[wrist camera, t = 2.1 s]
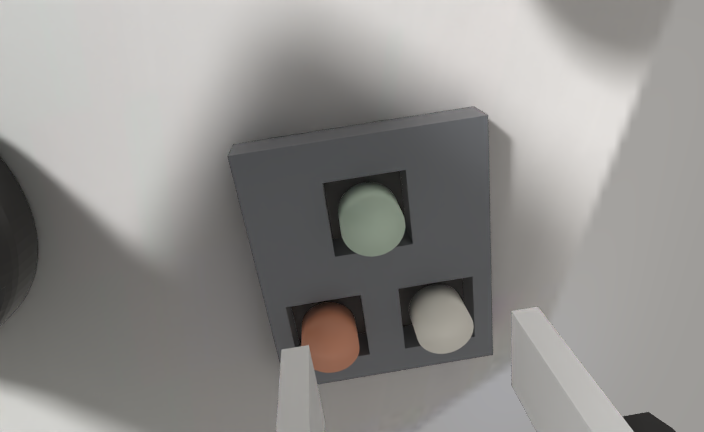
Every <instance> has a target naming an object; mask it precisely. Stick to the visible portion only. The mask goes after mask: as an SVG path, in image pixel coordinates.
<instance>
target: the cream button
mask: <svg viewBox="0 0 704 432" xmlns="http://www.w3.org/2000/svg"><path fill="white" fill-rule="evenodd" d="M409 315H410V318H411V321H412V324H413V327H414V330H415V333H416V336H417V339H418V342H419V344H420V345H421V346H422V347H423V348H424V349H425V350H427V351H429V352H432V353H436V354H446V353H451V352H454V351H456V350H458V349H460V348H461V347H463V346H464V345H465V344H466V343H467V342H468V341H469V339H470V338H471V336H472V333H473V328H474V325H473V320H472V318H471V316H470V314H469V312H468V310H467V309H466V307H465V305H464V303H463V301H462V299H461V297H460V295H459V294H458V292H457V291H456V290H455V289H453V288H452V287H450V286H447V285H443V284H434V285H429V286H427V287H424V288H422V289H421V290H419V291H418V292H417V293H416V294H415V295H414V296H413V298H412V299H411V301H410V304H409Z"/></svg>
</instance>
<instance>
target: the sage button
mask: <svg viewBox="0 0 704 432" xmlns="http://www.w3.org/2000/svg"><path fill="white" fill-rule="evenodd" d="M338 217H339V223H340V230H341V235H342V238H343V241H344V242H345V244H346V245H347V247H348V248H350V249H351V250H352V251H353V252H355V253H357V254H359V255H363V256H369V257H373V256H380V255H383V254H386V253H388V252H389V251H391V250H393V249H394V248H395V247H396V246H397V245H398V244H399V242H400V241H401V239H402V238H403V235H404V232H405V219H404V216H403V213H402V211H401V209H400V207H399V205H398V202H397V200H396V198H395V196H394V194H393V193H392V192H391V191H390V190H389V189H388V188H387V187H386V186H384V185H382V184H380V183H376V182H362V183H359V184H356V185H354V186H352V187H351V188H349V189H348V190H347V191H346V192H345V193H344V194H343V196H342V197H341V199H340V202H339V205H338Z"/></svg>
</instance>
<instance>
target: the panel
mask: <svg viewBox="0 0 704 432" xmlns="http://www.w3.org/2000/svg"><path fill="white" fill-rule="evenodd" d="M228 160H229V164H230V167H231V171H232V175H233V179H234V183H235V187H236V191H237V195H238V199H239V203H240V207H241V211H242V215H243V219H244V223H245V227H246V231H247V235H248V239H249V242H250V246H251V250H252V254H253V258H254V262H255V266H256V270H257V274H258V278H259V282H260V286H261V290H262V294H263V298H264V302H265V306H266V310H267V314H268V317H269V321H270V325H271V329H272V333H273V337H274V341H275V345H276V349H277V353H278V357H279V361H280V363H281V350H282V349H288V348H294V347H300V346H301V343H300V342H299V338H298V333H297V329H296V324H295V320H294V316H293V311H292V307H291V306H297V305H303V304H309V303H315V302H321V301H328V300H334V299H340V298H346V297H352V296H358V295H360V297H361V303H362V310H363V316H364V323H365V329H366V332H365V333H359V334H358V340H359V354H358V357H357V358H356V360H355V361H354V363H353V364H352V365H350V366H349V367H348V368H346V369H344V370H341V371H338V372H333V373H324V372H319V371H316V370H314V371H315V376H316V381H317V384H323V383H329V382H335V381H341V380H347V379H353V378H359V377H364V376H370V375H376V374H382V373H388V372H394V371H400V370H406V369H412V368H418V367H423V366H429V365H435V364H441V363H447V362H453V361H459V360H465V359H471V358H477V357H482V356H488V355H493V340H492V290H491V240H490V190H489V140H488V115H487V114H485V113H484V112H482V111H481V110H479V109H477V108H476V107H468V108H461V109H455V110H449V111H442V112H436V113H430V114H423V115H417V116H410V117H404V118H398V119H391V120H385V121H379V122H372V123H366V124H359V125H353V126H347V127H340V128H334V129H328V130H321V131H315V132H308V133H302V134H296V135H289V136H283V137H277V138H270V139H264V140H257V141H251V142H245V143H238V144H233V146H232V148H231V150H230V152H229V154H228ZM396 171H400V177H401V187H402V197H403V207H404V217H405V232H404V235H403V238H402V239H401V241H400V242H399V244H398V245H397V246H396V247H395V248H394V249H393V250H391V251H389V252H388V253H386V254H383V255H380V256H373V257H369V256H363V255H359V254H357V253H355V252H353V251H352V250H351V249H350V248H348V247H347V245H346V244H345V242H344V241H343V238H337V239H333V237H332V231H331V225H330V219H329V213H328V207H327V202H326V196H325V190H324V184H323V183H327V182H333V181H339V180H346V179H352V178H358V177H365V176H371V175H377V174H383V173H390V172H396ZM461 278H463V298H464V305H465V307H466V309H467V310H468V312H469V314H470V316H471V318H472V320H473V325H474V328H473V333H472V336H471V338H470V339H469V341H468V342H467V343H466V344H465V345H464V346H463V347H461V348H460V349H458V350H456V351H454V352H451V353H446V354H436V353H432V352H429V351H427V350H425V349H424V348H423V347H422V346H421V345H420V344H419V342H418V339H417V336H416V333H415V330H414V327H413V325H407V326H402V317H401V308H400V299H399V291H398V289H400V288H406V287H412V286H418V285H424V284H430V283H436V282H442V281H448V280H454V279H461Z"/></svg>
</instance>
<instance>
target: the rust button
mask: <svg viewBox="0 0 704 432" xmlns="http://www.w3.org/2000/svg"><path fill="white" fill-rule="evenodd" d="M306 345H309V349H310V353H311V358H312V362H313V367H314V370H316V371H319V372H324V373H333V372H338V371H341V370H344V369H346V368H348V367H349V366H350V365H352V364H353V363H354V361H355V360H356V358H357V357H358V354H359V340H358V334H357V327H356V321H355V317H354V315H353V313H352V312H351V311H350V310H349V309H348V308H347V307H346V306H344V305H342V304H339V303H334V302H325V303H321V304H318V305H316V306H314V307H312V308H311V309H309V310H308V311H307V312H306V314H305V315H304V317H303V320H302V330H301V346H306Z"/></svg>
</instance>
